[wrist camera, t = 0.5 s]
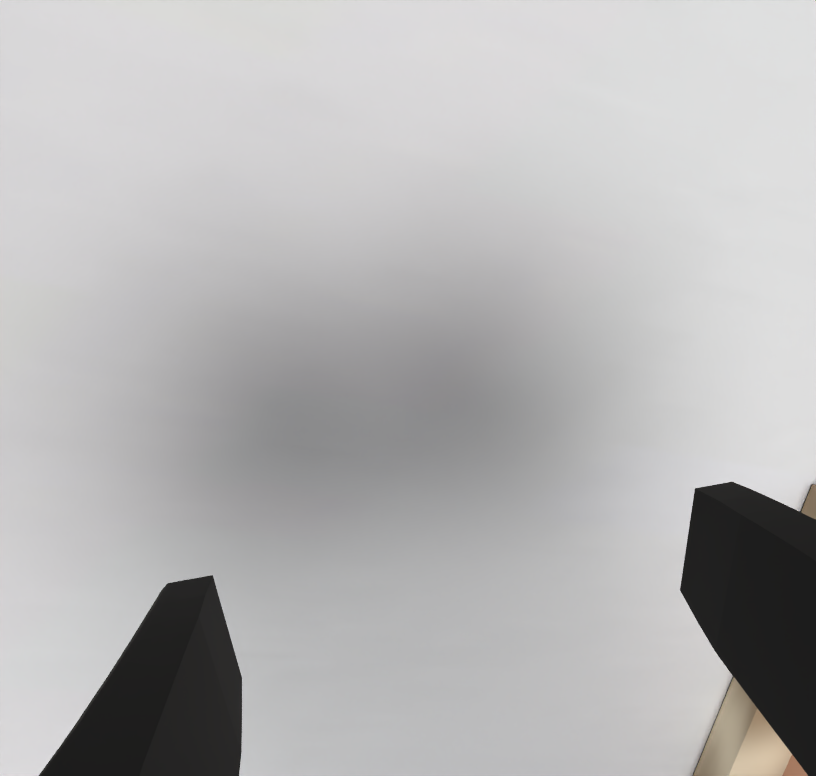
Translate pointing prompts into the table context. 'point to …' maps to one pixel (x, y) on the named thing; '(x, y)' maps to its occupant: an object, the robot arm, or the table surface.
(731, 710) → the light wood rectangular frame
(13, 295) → the table surface
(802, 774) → the shallow wooden crate
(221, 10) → the table surface
